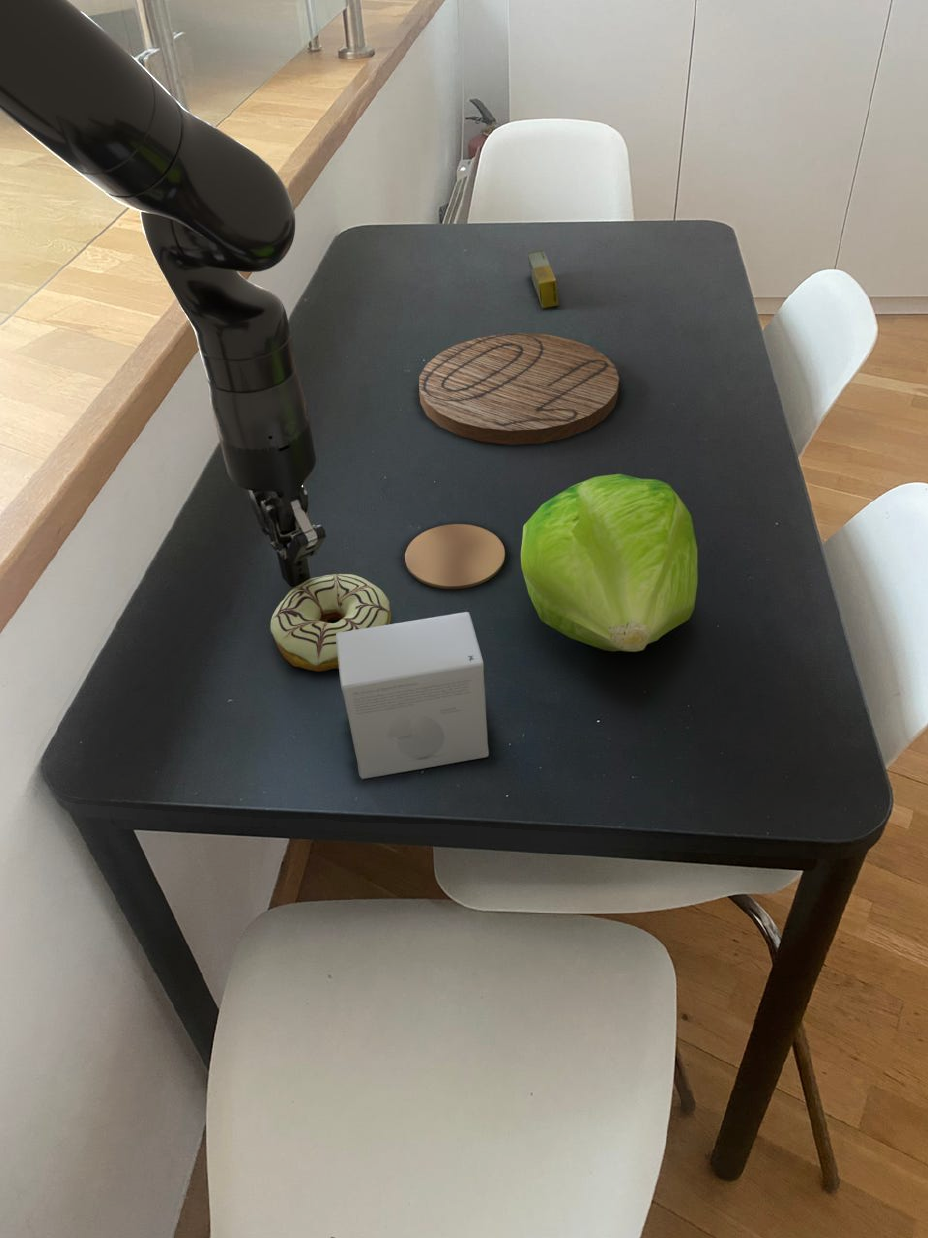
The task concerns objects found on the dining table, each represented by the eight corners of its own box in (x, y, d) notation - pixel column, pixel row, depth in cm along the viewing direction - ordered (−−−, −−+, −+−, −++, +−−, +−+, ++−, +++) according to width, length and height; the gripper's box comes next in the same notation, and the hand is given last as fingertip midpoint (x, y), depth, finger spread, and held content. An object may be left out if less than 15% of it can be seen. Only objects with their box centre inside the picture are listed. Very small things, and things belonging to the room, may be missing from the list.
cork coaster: (424, 600, 88) (424, 597, 87) (392, 541, 94) (392, 538, 94) (520, 573, 90) (520, 569, 90) (482, 517, 97) (482, 514, 97)
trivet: (653, 375, 118) (655, 362, 116) (549, 467, 103) (549, 452, 102) (493, 330, 129) (493, 317, 128) (379, 407, 115) (377, 394, 113)
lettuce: (551, 720, 76) (508, 584, 69) (545, 591, 93) (510, 471, 86) (731, 685, 73) (706, 540, 66) (692, 559, 90) (668, 431, 83)
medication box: (529, 278, 142) (527, 252, 140) (546, 274, 142) (544, 248, 140) (541, 309, 133) (538, 281, 131) (559, 305, 133) (557, 278, 131)
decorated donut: (253, 637, 85) (244, 607, 82) (345, 583, 90) (339, 552, 87) (320, 696, 79) (313, 664, 76) (414, 634, 84) (411, 603, 82)
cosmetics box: (474, 699, 78) (469, 607, 71) (489, 758, 73) (486, 665, 66) (351, 720, 77) (334, 628, 70) (359, 781, 72) (341, 689, 65)
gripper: (188, 402, 78) (232, 560, 90) (254, 473, 70) (292, 636, 82) (269, 375, 81) (300, 531, 93) (341, 440, 73) (366, 602, 85)
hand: (297, 580), depth 87 cm, fingers closed
